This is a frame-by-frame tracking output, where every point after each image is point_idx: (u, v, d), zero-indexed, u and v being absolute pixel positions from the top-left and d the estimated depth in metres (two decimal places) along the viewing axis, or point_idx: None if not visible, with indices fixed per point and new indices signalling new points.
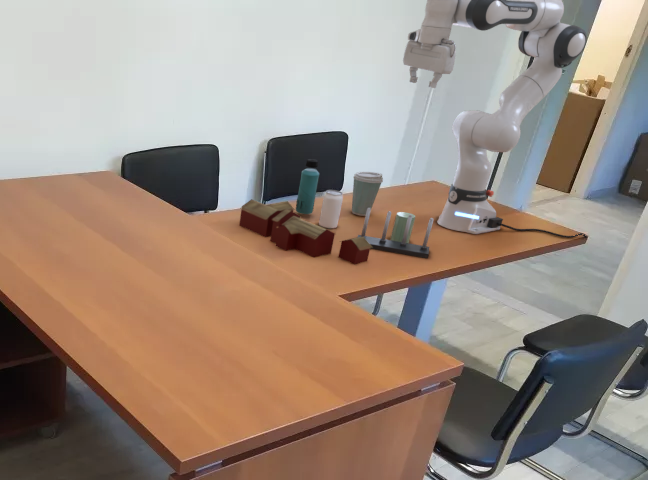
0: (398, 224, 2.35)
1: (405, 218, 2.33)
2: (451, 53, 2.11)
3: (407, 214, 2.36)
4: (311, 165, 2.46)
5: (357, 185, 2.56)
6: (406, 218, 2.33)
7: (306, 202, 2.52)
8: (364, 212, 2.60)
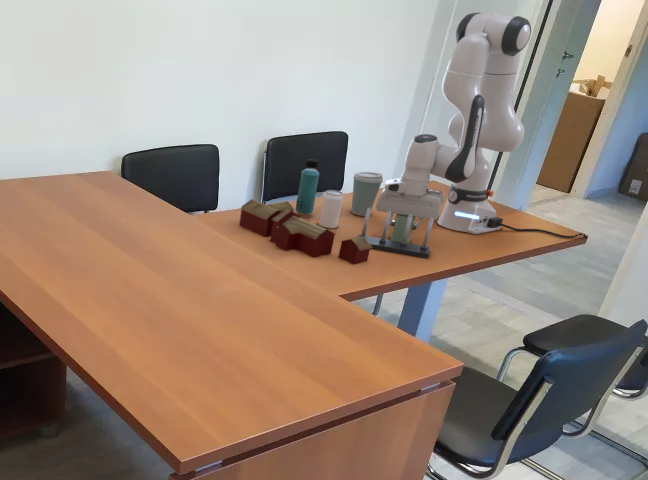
0: (398, 224, 2.35)
1: (405, 218, 2.33)
2: (442, 202, 2.29)
3: None
4: (311, 165, 2.46)
5: (357, 185, 2.56)
6: (406, 218, 2.33)
7: (306, 202, 2.52)
8: (364, 212, 2.60)
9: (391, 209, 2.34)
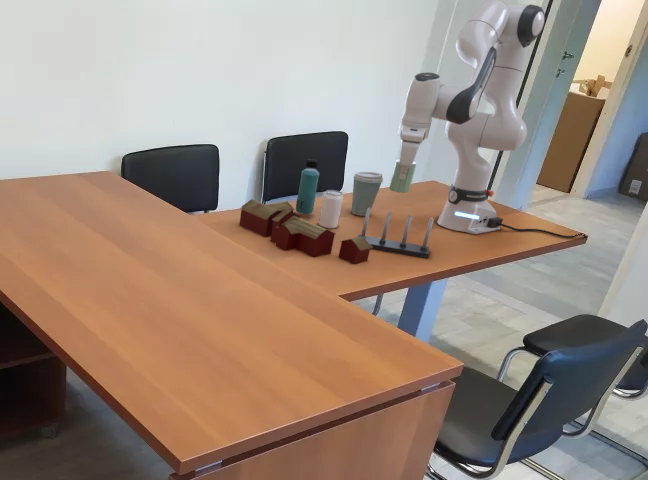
0: (412, 173, 2.21)
1: (415, 164, 2.21)
2: None
3: None
4: (311, 165, 2.46)
5: (357, 185, 2.56)
6: None
7: (306, 202, 2.52)
8: (364, 212, 2.60)
9: None
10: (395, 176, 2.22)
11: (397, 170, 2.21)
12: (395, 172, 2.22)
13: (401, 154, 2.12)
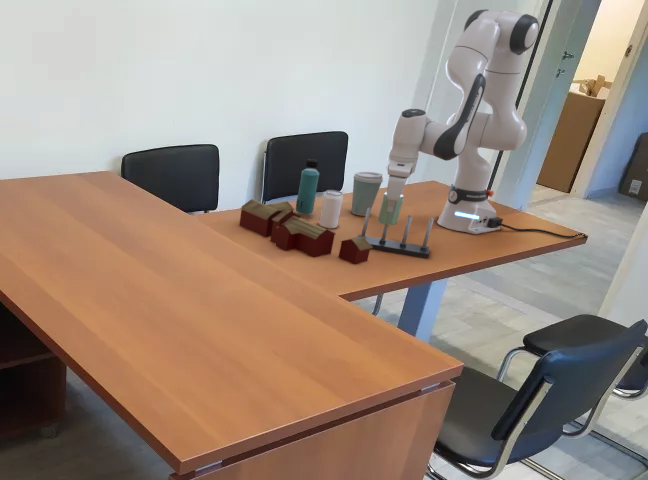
0: (399, 205, 2.24)
1: None
2: None
3: None
4: (311, 165, 2.46)
5: (357, 185, 2.56)
6: None
7: (306, 202, 2.52)
8: (364, 212, 2.60)
9: None
10: (383, 209, 2.26)
11: (385, 203, 2.24)
12: (383, 205, 2.25)
13: (388, 189, 2.15)
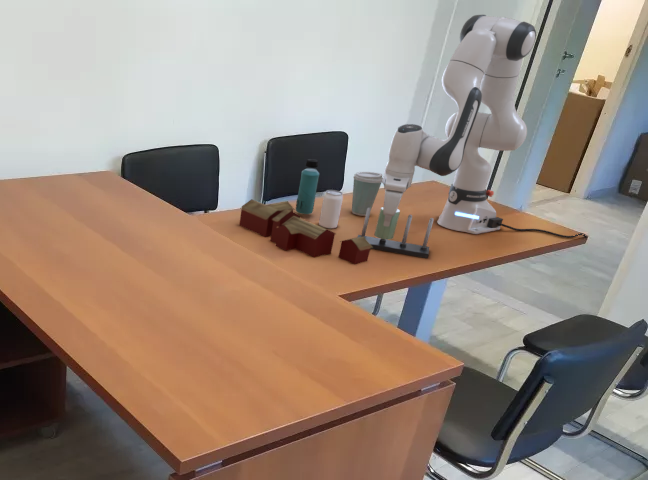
0: (396, 220, 2.26)
1: (399, 212, 2.26)
2: None
3: None
4: (311, 165, 2.46)
5: (357, 185, 2.56)
6: None
7: (306, 202, 2.52)
8: (364, 212, 2.60)
9: None
10: (379, 223, 2.28)
11: (381, 217, 2.27)
12: (379, 219, 2.28)
13: (385, 203, 2.17)
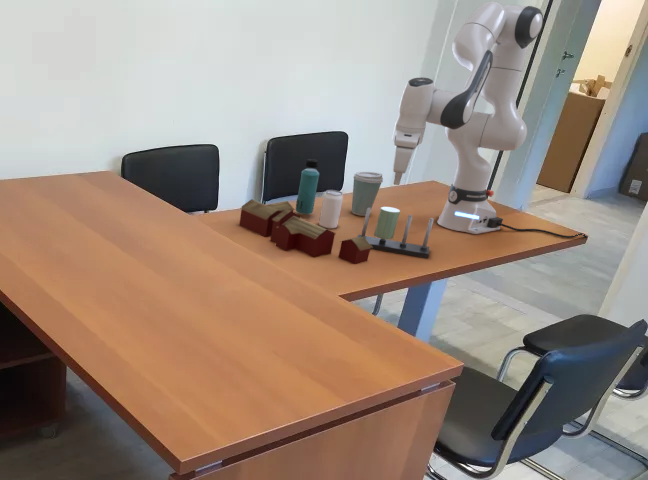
0: (396, 220, 2.26)
1: (399, 212, 2.26)
2: None
3: (388, 208, 2.28)
4: (311, 165, 2.46)
5: (357, 185, 2.56)
6: None
7: (306, 202, 2.52)
8: (364, 212, 2.60)
9: None
10: (379, 223, 2.28)
11: (381, 217, 2.27)
12: (379, 219, 2.28)
13: (395, 160, 2.11)
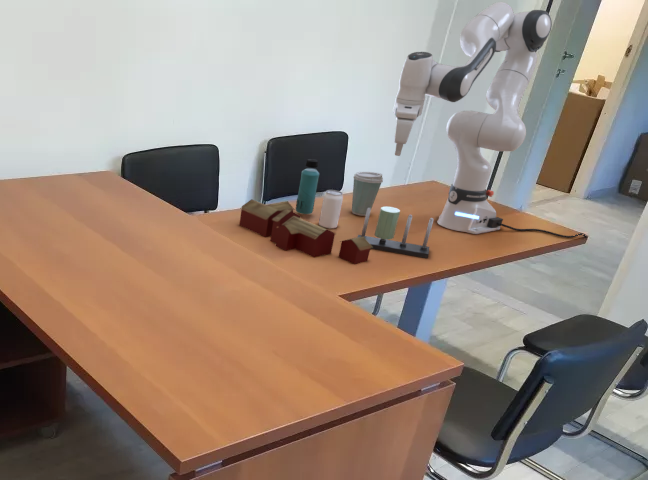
0: (396, 220, 2.27)
1: (399, 212, 2.26)
2: None
3: (388, 208, 2.28)
4: (311, 165, 2.46)
5: (357, 185, 2.56)
6: None
7: (306, 202, 2.52)
8: (364, 212, 2.60)
9: None
10: (380, 223, 2.28)
11: (381, 218, 2.27)
12: (380, 219, 2.28)
13: (396, 131, 2.21)
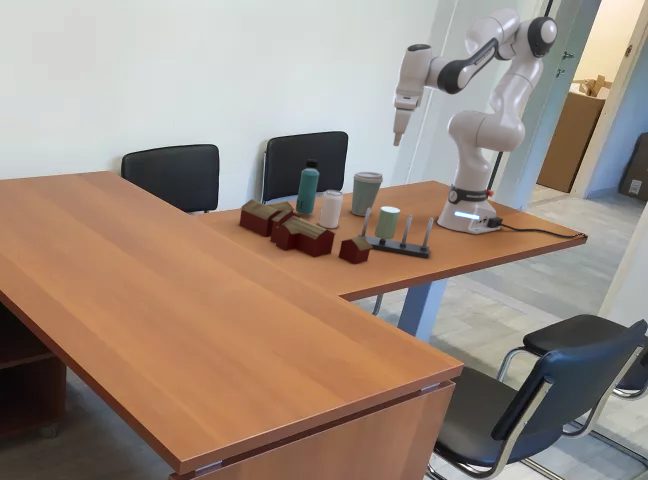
0: (396, 220, 2.27)
1: (399, 212, 2.26)
2: None
3: (388, 208, 2.28)
4: (311, 165, 2.46)
5: (357, 185, 2.56)
6: None
7: (306, 202, 2.52)
8: (364, 212, 2.60)
9: None
10: (380, 223, 2.28)
11: (381, 218, 2.27)
12: (380, 219, 2.28)
13: (395, 121, 2.25)
